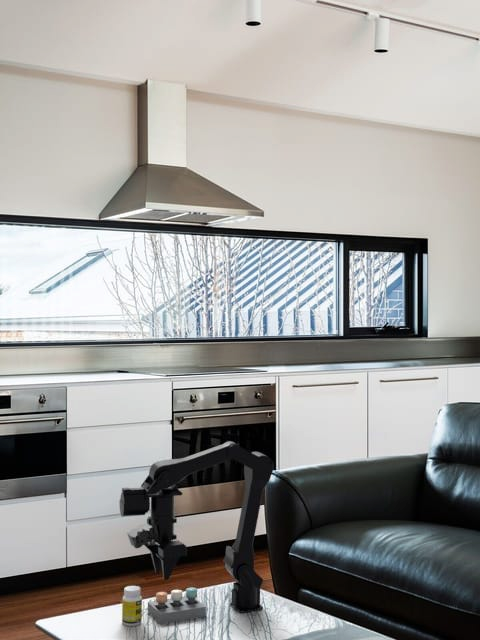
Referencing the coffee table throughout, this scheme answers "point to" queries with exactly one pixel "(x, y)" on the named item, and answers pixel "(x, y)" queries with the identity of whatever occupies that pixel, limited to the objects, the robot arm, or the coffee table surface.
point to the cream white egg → (176, 597)
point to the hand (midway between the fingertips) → (161, 576)
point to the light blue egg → (191, 595)
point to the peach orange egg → (161, 599)
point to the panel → (176, 610)
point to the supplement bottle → (132, 606)
